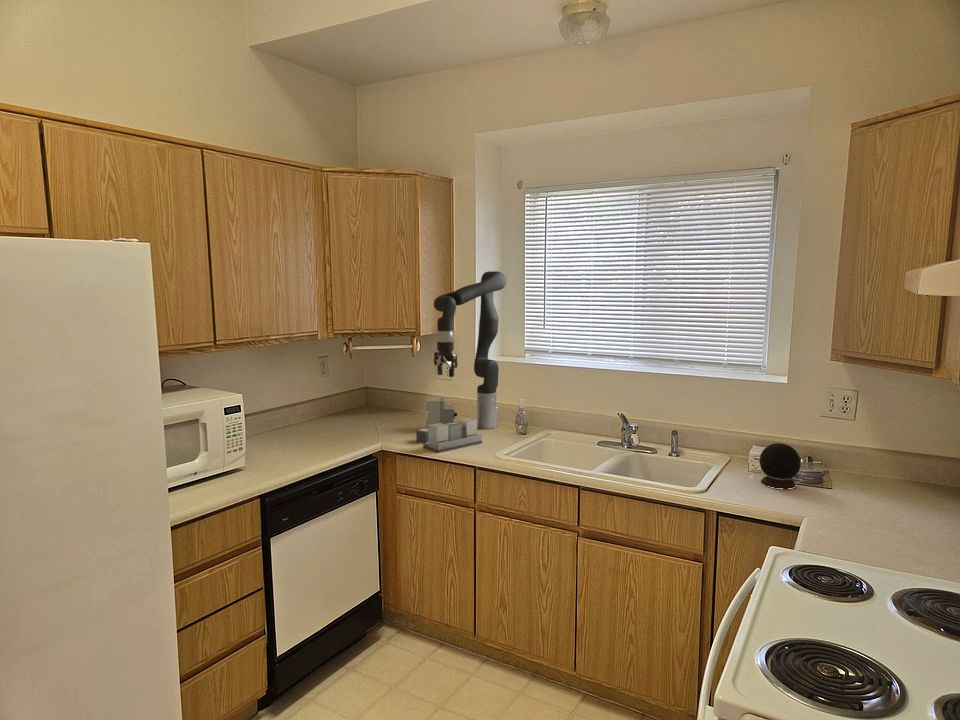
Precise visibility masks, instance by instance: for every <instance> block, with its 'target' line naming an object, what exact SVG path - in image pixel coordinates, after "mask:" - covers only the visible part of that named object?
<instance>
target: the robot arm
mask: <svg viewBox="0 0 960 720" xmlns="http://www.w3.org/2000/svg"><path fill="white" fill-rule="evenodd" d="M506 284H507V277H506V275H505V274H504V273H503V272H502V271H495V270H494V271H492V270H491V271H490V270H489V271H485V272H483V274H482V275H481V278H480V281H479V282H476V283H473V284H472V283H471V284H468V285H465V286H462V287H460V288H458V289H456V290H454V291H451V292H447V293H445V294H441V295H439V296H437V297H436V298H435V300H434V301H433V307H434V309H435V310H437V312H442V314H441V315H442V316H441V317H439V318H438V319H437V323H436V324H437V325H436V326H437V327H436V328H437V329H436V331H437V333H436V351H435V352H434V353H433V354H434V355H433V356H434V357H433V364H434V366H436V367H437V370H436V371H437V375H438V376H440V375H441V376H442V375H443V365H444V364H446V366H447V367H448V377H449V378H454V377H455V369H457V368H458V354H456V353H455V354H453V352H454V348H455V346H454V342H455V341H454V340H455V339H454V323H453V322H454V318H455V315H456V310H457V306H458V307H459V306H461V305H464V304H465V303H468V302H470V301H472V300H474V299H477V298H479V297H480V312H479V321H478V322H479V323H478V334H477V335H478V338H477V347H476V351H475V357H474V362H473V363H474V364H473V371H474V374H475V376H476V377H479V378H482V379H483V383H482V384H479V385H478V386H476V387H477V388H476V391H477V392H476V409H477V410H476V420H477V429H478V428H479V429H486V430H488V429H495V428H496V427H498V420H499V419H498V416H499V414H498V413H499V411H498V410H499V408H498V406H497V388H498V385H499V373H500V372H499V364H498V362H497V361H496V360H494V359H489V352H490V348H491V346H492V343H493V341H494V340H495V338H496V337H497V334H498V331H499V315H498V311H497V309H496V307H495V304H494V292H497V291H502V290H503V289H504V288H505V286H506Z"/></svg>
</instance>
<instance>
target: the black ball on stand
mask: <svg viewBox="0 0 960 720" xmlns="http://www.w3.org/2000/svg"><path fill="white" fill-rule="evenodd" d="M801 464H802V462H801V457H800V455H799V453H798V452H797V450H796V449H795V448H793V447H792V446H791V445H789V444H786V443H782V442H778V443H777V442H776V443H772V444H771V443H770V444H769V445H767V446H766V447H765V448H764V449H763V450H762V451H761V453H760V455H759V466H760V469H761V470H762V472H763V474H764V475H766V476H764V477H763V478H761V480H760V483H762V484H764V485H766V486H770V487H774V488H783V489H788V488H793V487H795V484H796V483H795V481H794V480H793V478H795V477H796V476H797V474H799V471H800V469H801V466H802V465H801ZM762 484H761V485H762ZM764 485H763V486H764ZM766 486H765V487H766Z"/></svg>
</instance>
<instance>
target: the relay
mask: <svg viewBox="0 0 960 720" xmlns="http://www.w3.org/2000/svg"><path fill="white" fill-rule="evenodd" d="M415 433H416V435H415V436H416V443H420V442H421V444H428V443H429V429H426V428H420V429H418V430H416V432H415ZM427 442H428V443H427Z"/></svg>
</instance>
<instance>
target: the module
mask: <svg viewBox="0 0 960 720" xmlns="http://www.w3.org/2000/svg"><path fill="white" fill-rule="evenodd" d="M445 425H448V441H452V440H457V439H461V438H462V424H461V423H458V422H455V421H454V423H448V424H445Z"/></svg>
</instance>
